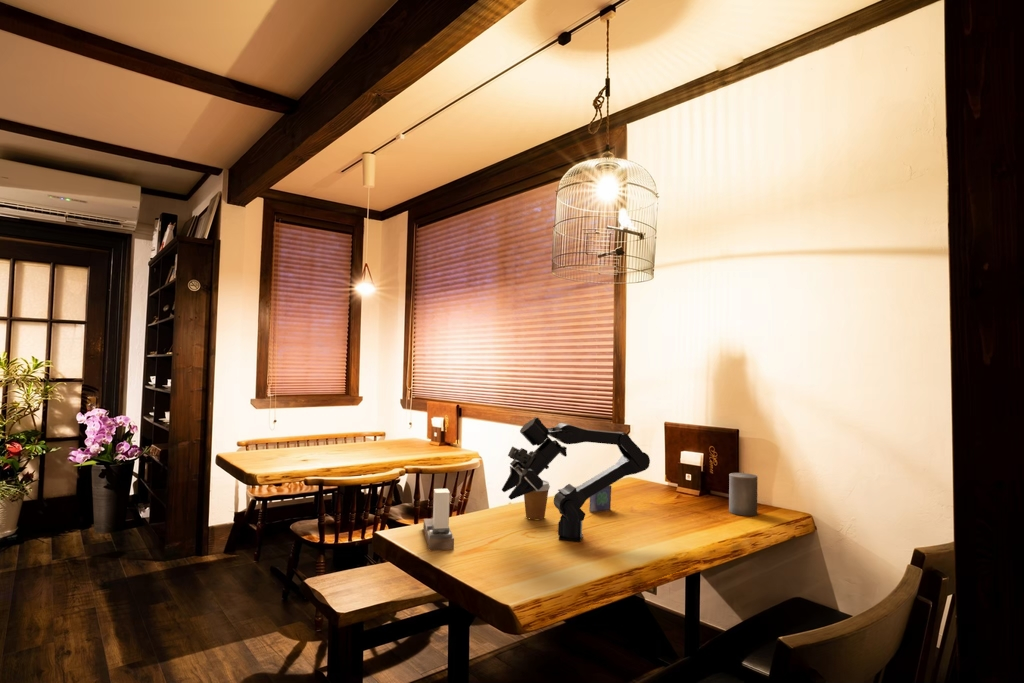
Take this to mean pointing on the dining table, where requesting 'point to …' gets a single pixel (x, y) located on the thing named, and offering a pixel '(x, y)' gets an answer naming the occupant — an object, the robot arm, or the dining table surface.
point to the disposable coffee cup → (537, 502)
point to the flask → (601, 501)
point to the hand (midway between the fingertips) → (506, 494)
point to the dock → (437, 537)
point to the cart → (441, 511)
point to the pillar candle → (743, 494)
